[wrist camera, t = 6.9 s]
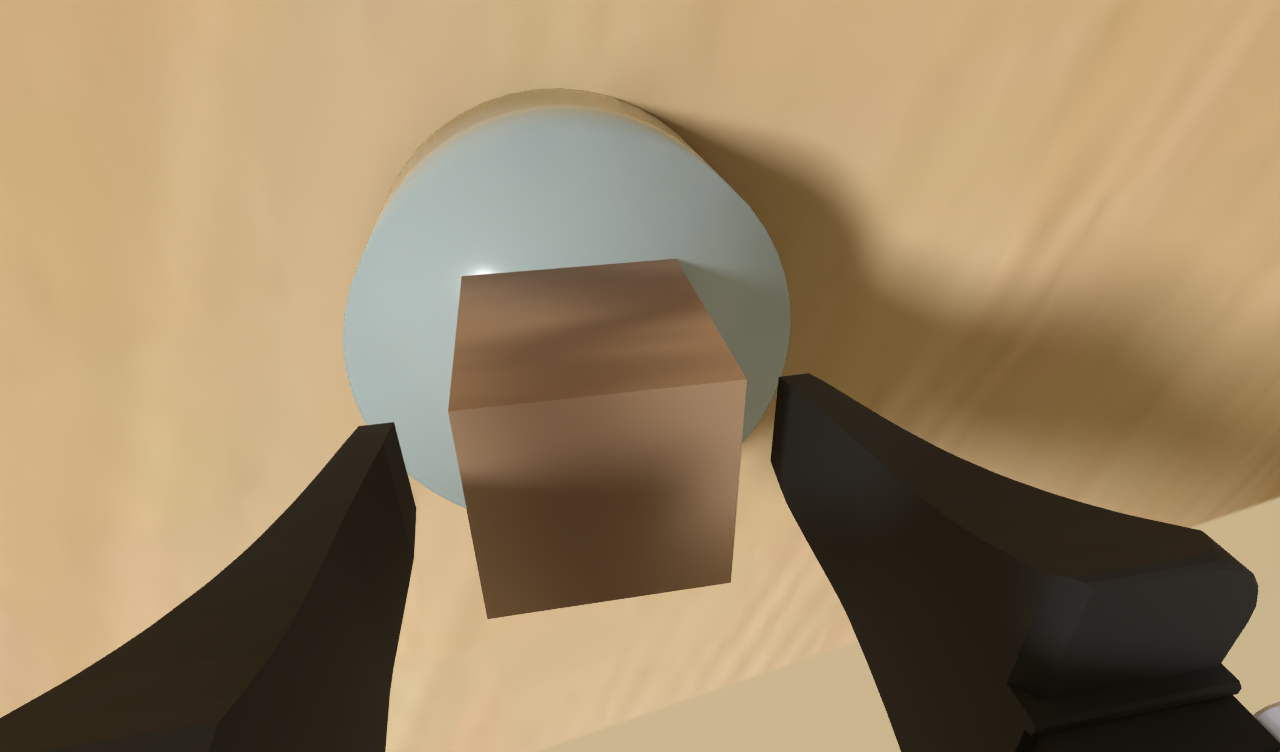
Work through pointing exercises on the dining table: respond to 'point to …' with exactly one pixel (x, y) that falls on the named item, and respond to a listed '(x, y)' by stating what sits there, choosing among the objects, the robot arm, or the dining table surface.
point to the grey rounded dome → (546, 249)
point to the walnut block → (594, 434)
